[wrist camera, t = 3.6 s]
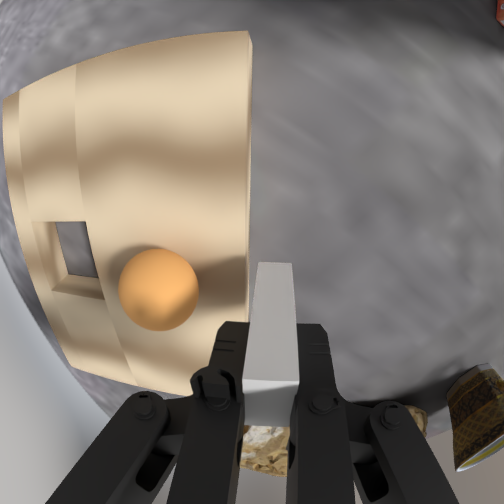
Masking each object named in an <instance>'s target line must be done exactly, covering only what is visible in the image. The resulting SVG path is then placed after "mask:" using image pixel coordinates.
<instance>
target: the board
mask: <svg viewBox="0 0 504 504" xmlns="http://www.w3.org/2000/svg"><path fill="white" fill-rule="evenodd" d="M252 46H253V45H252V42H251V39H250V36H249V33H248V31H229V32H215V33H204V34H195V35H188V36H181V37H174V38H168V39H163V40H158V41H153V42H148V43H144V44H139V45H135V46H131V47H127V48H123V49H120V50H116V51H113V52H109V53H106V54H103V55H100V56H97V57H94V58H91V59H88V60H85V61H83V62H80V63H77V64H75V65H72V66H70V67H67V68H65V69H62V70H60V71H58V72H55V73H53V74H51V75H49V76H46V77H44V78H42V79H40V80H38V81H36V82H34V83H32V84H30V85H28V86H26V87H24V88H23V89H21V90H19V91H17V92H15V93H13V94H12V95H10V96H8V97H7V98H5V99H3V143H4V157H5V167H6V175H7V182H8V189H9V195H10V201H11V206H12V211H13V216H14V220H15V225H16V229H17V233H18V237H19V241H20V244H21V248H22V251H23V255H24V258H25V261H26V264H27V267H28V270H29V273H30V276H31V279H32V282H33V285H34V287H35V290H36V293H37V295H38V298H39V300H40V303H41V305H42V308H43V310H44V312H45V315H46V317H47V319H48V321H49V324H50V326H51V328H52V330H53V332H54V334H55V336H56V338H57V340H58V342H59V344H60V346H61V348H62V350H63V352H64V354H65V356H66V357H67V359H68V361H69V363H70V365H71V366H72V367H74V368H77V369H80V370H83V371H86V372H89V373H92V374H96V375H99V376H102V377H106V378H109V379H113V380H116V381H120V382H124V383H127V384H131V385H135V386H140V387H144V388H148V389H153V390H157V391H162V392H167V393H173V394H178V395H184V396H190V395H192V394H193V391H192V388H191V384H190V379H191V377H192V376H193V374H194V373H195V372H196V371H198V370H199V369H200V368H203V367H206V366H208V364H209V360H210V357H211V353H212V350H213V346H214V342H215V338H216V334H217V331H218V329H219V328H220V327H221V325H222V324H223V323H224V322H225V321H236V322H248V317H249V235H250V164H251V102H252ZM55 221H86V225H87V230H88V235H89V240H90V244H91V249H92V253H93V257H94V261H95V265H96V269H97V273H98V277H99V278H93V277H85V276H77V275H70V274H68V271H67V268H66V264H65V261H64V257H63V253H62V249H61V246H60V241H59V237H58V233H57V229H56V224H55ZM150 249H166V250H169V251H172V252H174V253H176V254H178V255H180V256H181V257H183V258H184V259H185V260H186V261H187V262H188V263H189V264H190V266H191V267H192V269H193V270H194V272H195V275H196V277H197V280H198V286H199V296H198V301H197V305H196V307H195V309H194V311H193V313H192V315H191V316H190V317H189V318H188V319H187V320H186V321H185V322H184V323H183V324H181V325H180V326H178V327H176V328H174V329H171V330H167V331H151V330H148V329H145V328H143V327H141V326H139V325H137V324H136V323H134V322H133V321H132V320H131V319H130V318H129V317H128V316H127V314H126V313H125V311H124V310H123V308H122V305H121V303H120V299H119V294H118V284H119V279H120V275H121V273H122V271H123V269H124V267H125V266H126V264H127V263H128V262H129V261H130V260H131V259H132V258H133V257H134V256H136V255H137V254H139V253H141V252H143V251H146V250H150Z"/></svg>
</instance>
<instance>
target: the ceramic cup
mask: <svg viewBox="0 0 504 504" xmlns="http://www.w3.org/2000/svg"><path fill="white" fill-rule="evenodd" d="M447 401H448V406H449V411H450V417H451V423H452V430H453V451H454V464H455V471H457V472H459V471H463V470H466V469H468V468H470V467H472V466H474V465H476V464H478V463H480V462H482V461H484V460H485V459H487V458H489V457H490V456H492V455H493V454H495V453H496V452H498V451H499V450H501V449H502V448H503V447H504V380H503V379H502V378H501V377H500V376H499V374H498V373H497V372H496V371H495V370H494V369H493V367H492V366H491V365H490V364H482V365H477V366H475V367H474V368H473V369H471V370H470V371H468V372H467V373H466V374H464V375H463V376H461V377H460V378H458V379H457V381H456V382H455V383H454V385H453V386H452V387H451V388H450V390H449V391H448V392H447Z"/></svg>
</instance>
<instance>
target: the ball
mask: <svg viewBox="0 0 504 504" xmlns="http://www.w3.org/2000/svg"><path fill="white" fill-rule="evenodd" d="M118 294H119V299H120V303H121V305H122V308H123V310H124V311H125V313H126V314H127V316H128V317H129V318H130V319H131V320H132V321H133V322H134V323H136V324H137V325H139V326H141V327H143V328H145V329H148V330H151V331H167V330H171V329H174V328H176V327H178V326H180V325H181V324H183V323H184V322H185V321H186V320H187V319H188V318H189V317H190V316H191V315H192V313H193V311H194V309H195V307H196V305H197V301H198V296H199V286H198V280H197V277H196V275H195V272H194V270H193V269H192V267H191V266H190V264H189V263H188V262H187V261H186V260H185V259H184V258H183V257H181V256H180V255H178V254H176V253H174V252H172V251H169V250H166V249H150V250H146V251H143V252H141V253H139V254H137V255H136V256H134V257H133V258H132V259H131V260H130V261H129V262H128V263H127V264H126V266H125V267H124V269H123V271H122V273H121V275H120V279H119V284H118Z"/></svg>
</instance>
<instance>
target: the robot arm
mask: <svg viewBox="0 0 504 504" xmlns="http://www.w3.org/2000/svg"><path fill="white" fill-rule="evenodd" d="M190 384H191V388H192V391H193V394H192V395H190V396H187V397H183V398H176V399H166V400H163V398H162V397H161V396H159V395H158V394H156V393H154V392H150V391H141V392H137V393H135V394H132V395H131V396H130V397H129V398H128V399H127V400H126V401H125V402H124V403H123V405H122V406H121V407H120V408H119V410H118V411H117V412H116V413H115V415H114V416H113V417H112V418H111V420H110V421H109V422H108V424H107V425H106V426H105V427H104V429H103V430H102V431H101V433H100V434H99V435H98V436H97V438H96V439H95V440H94V441H93V443H92V444H91V445H90V447H89V448H88V449H87V450H86V452H85V453H84V454H83V456H82V457H81V458H80V459H79V461H78V462H77V463H76V464H75V466H74V467H73V468H72V470H71V471H70V472H69V473H68V475H67V476H66V477H65V479H64V480H63V481H62V482H61V484H60V485H59V486H58V488H57V489H56V490H55V491H54V493H53V494H52V495H51V497H50V498H49V500H48V501H47V502H46V503H45V504H152V502H153V501H154V499H155V497H156V496H157V494H158V493H159V491H160V489H161V488H162V486H163V484H164V483H165V481H166V479H167V478H168V476H169V474H170V473H171V471H172V469H173V467H174V466H175V464H176V463H177V464H176V468H175V472H174V475H173V479H172V483H171V487H170V491H169V495H168V499H167V504H235V501H236V494H237V486H238V478H239V470H240V463H241V455H242V446H243V430H244V425H251V426H269V427H289V425H290V436H289V439H288V443H287V446H286V450H288V457H287V486H286V504H355V493H354V482H355V485H356V487H357V490H358V492H359V495H360V498H361V500H362V503H363V504H459V502H458V500H457V498H456V496H455V494H454V492H453V490H452V488H451V486H450V484H449V482H448V480H447V479H446V477H445V474H444V473H443V471H442V469H441V467H440V465H439V463H438V461H437V459H436V458H435V456H434V454H433V452H432V450H431V448H430V447H429V445H428V443H427V441H426V439H425V438H424V436H423V434H422V432H421V431H420V429H419V427H418V425H417V424H416V422H415V420H414V418H413V417H412V415H411V413H410V412H409V410H408V409H407V408H406V407H405V406H404V405H402V404H400V403H399V402H395V401H385V402H381V403H379V404H378V405H376V406H375V407H374V408H370V407H364V406H360V405H356V404H352V403H350V402H348V401H346V400H345V399H344V398H343V397H342V396H341V395H340V394H339V392H338V391H337V388H336V383H335V377H334V370H333V364H332V358H331V355H330V347H329V341H328V336H327V332H326V331H325V330H324V329H323V327H322V326H321V325H320V324H297V323H296V312H295V298H294V286H293V273H292V263H273V262H258V269H257V277H256V284H255V291H254V299H253V306H252V313H251V321H250V322H236V321H225V322H224V323H223V324H222V325H221V327H220V328H219V329H218V331H217V334H216V338H215V342H214V346H213V350H212V353H211V357H210V360H209V364H208V366H206V367H203V368H200V369H199V370H198V371H196V372H195V373H194V374H193V376H192V377H191V379H190Z"/></svg>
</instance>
